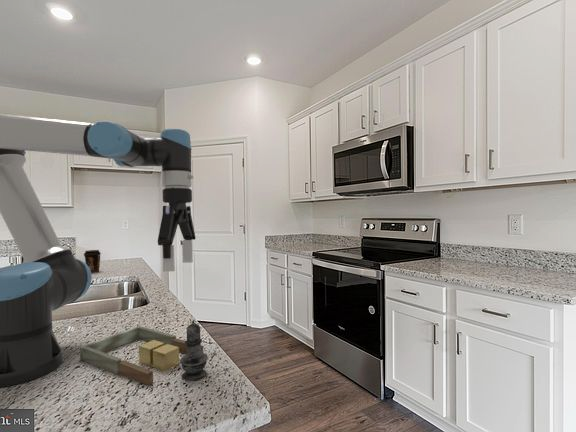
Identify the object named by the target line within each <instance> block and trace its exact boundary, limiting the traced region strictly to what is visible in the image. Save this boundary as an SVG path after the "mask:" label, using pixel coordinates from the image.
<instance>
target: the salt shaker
mask: <svg viewBox="0 0 576 432" xmlns="http://www.w3.org/2000/svg"><path fill="white" fill-rule="evenodd" d="M184 341H185V344H187V352H186V354H185V355H184V356H182V357H180V358H179V365H181V368H182V370H183V371H184V372H183V373H182V374H181V377H182V378H181V379H182V381H184V380H185V381H184V382H188V381H193V382H198V381H201V380H202V378H203V379H204V378H206V377H207V375H208V372H207V370H205V367H206V365H207V361H208V359H209V356H208V355H207V353H204V352H203V353H202V352H201V345H202V342H203V339H202V338H201V326H200V324H198V323H196V321H195V320H194V319H192V321H191V324H189V325H187V327H186V340H184ZM200 379H201V380H200ZM197 380H198V381H197Z"/></svg>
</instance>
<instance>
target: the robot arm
mask: <svg viewBox="0 0 576 432" xmlns="http://www.w3.org/2000/svg"><path fill="white" fill-rule="evenodd" d="M160 132H161V133H160V134H161V135H160V137H140V136H139V135H137V134H136V133H134V132H132V131H130V130H128V129H127V128H125V126H123V125H120V124H119V123H116V122H113V121H110V120H100V121H98V122H95V123H93V122H83V121H76V120H75V121H73V120H64V119H54V118H45V117H34V116H26V115H14V114H5V113H0V215H1V216H2V219H3V220H4V223H5V225H6V227H7V229H8V231H9V232H10V235H11V237H12V238H13V241H14V242H15V245H16V246H17V248H18V250H19V252H20V254H21V256H22V259H23V261H22V263H18V264H15V265H14V264H13V265H7V266H3V267H0V388H3V387H9V386H14V385H18V384H22V383H26V382H29V381H33V380H35V379H38V378H40V377H43V376H45V375H47V374H49V373H50V372H53V371H54V370H56V369H57V368H58V367H59V366H60V365H61V364H62V363H63V351H62V347H60V344H59V342H58V340H57V337H56V335H55V333H54V330H53V311H56V310H58V309H60V308H63V307H65V306H66V305H70V304H72V303H73V302H76V301H77V300H78V299H80V298H81V297H83V296H84V295H85V294H86V293H87V292H88V290H89V289H90V286H91V284H92V279H93V278H92V274H91V271H90V268H89V267H88V265H87V264H86V263H85V261H83V260H81V259H78V258H76V256H75V255H74V253H73V252H72V249H71V248H69V247H66V246H63V245H62V244H61V241H60V240H59V238H58V236H57V234H56V232H55V230H54V228H53V226H52V223H51V222H50V219H49V218H48V215H47V214H46V212H45V210H44V208H43V206H42V204H41V202H40V199H39V197H38V195H37V194H36V192H35V190H34V188H33V186H32V183H31V182H30V179H29V178H28V176H27V173H26V172H25V169H24V168H23V166H24V165H25V163H27V158H26V152H38V153H39V152H40V153H47V154H48V153H49V154H50V153H51V154H60V155H61V154H62V155H73V156H84V157H94V158H101V159H112V160H113V161H114V162H115V164H116V165H117V166H119V167H129V168H134V167H161V181H162V182H161V186H162V187H163V190H162V203H165V204H168V205H163V206H162V216H161V222H160V227H159V232H158V237H157V245H158V246H161V248H162V249H161V250H162V253H161V254H162V255H161V256H162V272H175V271H176V270H175V267H176V266H175V245H174V244H173V243H174V239H175V236H176V233H177V229H178V226H179V229H180V232H181V235H182V238H183V239H182V240H181V244H182V252H181V253H182V263H184V264H185V263H186V264H187V263H193V261H194V259H193V256H194V255H193V241H194V240H196V239H197V238H196V234H195V228H194V223H193V217H192V208H191V206H190V205H187V203H188V204H189V203H192V202H193V191H192V189H191V187H193V186H192V180H193V179H194V176H193V175H192V145H191V134H190V132H188V131H187V130H184V129H180V128H165V129H163V130H162V131H160Z"/></svg>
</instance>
